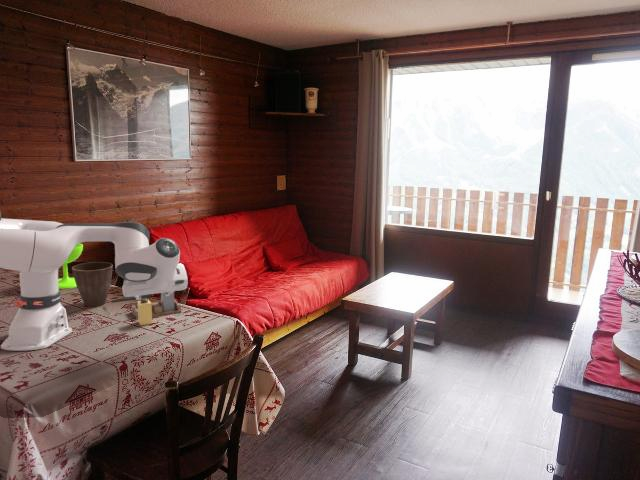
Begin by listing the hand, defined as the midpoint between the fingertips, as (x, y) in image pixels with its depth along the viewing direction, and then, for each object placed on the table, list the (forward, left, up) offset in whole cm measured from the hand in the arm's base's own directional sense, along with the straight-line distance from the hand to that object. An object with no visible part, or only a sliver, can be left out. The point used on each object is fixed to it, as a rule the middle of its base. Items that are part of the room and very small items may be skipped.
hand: (152, 296), depth 159 cm
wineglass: (+64, +55, -15) cm, 86 cm away
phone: (+38, +18, -15) cm, 45 cm away
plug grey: (+23, 0, -13) cm, 26 cm away
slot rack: (+21, +4, -14) cm, 26 cm away
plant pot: (+35, +32, -15) cm, 50 cm away
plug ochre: (+10, +5, -14) cm, 18 cm away
